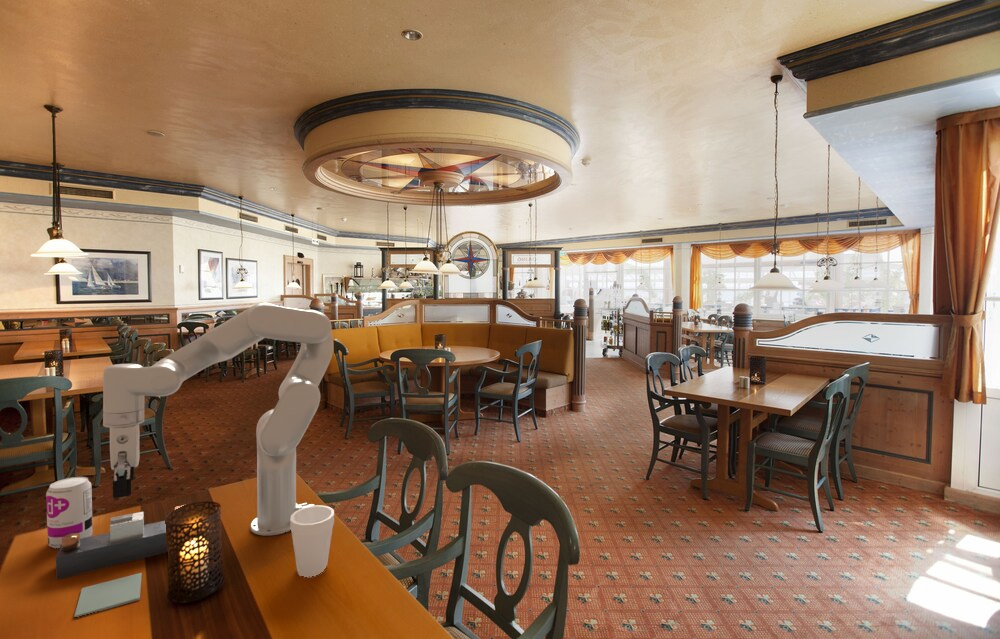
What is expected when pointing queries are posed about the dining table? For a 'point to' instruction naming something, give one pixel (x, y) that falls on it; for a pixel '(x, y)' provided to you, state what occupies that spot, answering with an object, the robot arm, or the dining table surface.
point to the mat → (109, 594)
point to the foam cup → (312, 538)
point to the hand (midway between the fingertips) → (123, 488)
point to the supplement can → (69, 509)
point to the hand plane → (108, 550)
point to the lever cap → (126, 526)
